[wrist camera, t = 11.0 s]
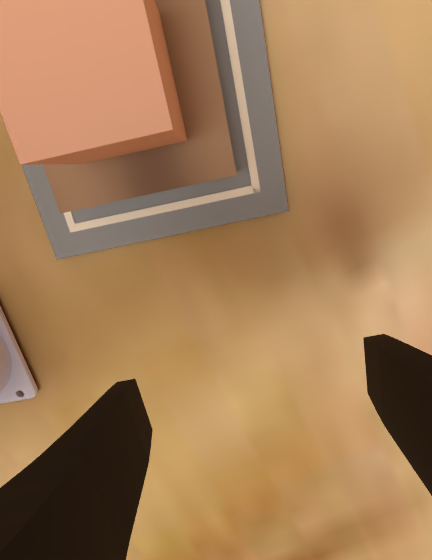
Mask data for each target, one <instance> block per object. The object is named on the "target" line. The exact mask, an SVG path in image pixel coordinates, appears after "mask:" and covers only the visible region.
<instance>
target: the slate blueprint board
mask: <svg viewBox="0 0 432 560" xmlns="http://www.w3.org/2000/svg"><path fill="white" fill-rule="evenodd" d="M205 3H206V8H207V14H208V19H209V25H210V30H211V36H212V41H213V47H214V52H215V58H216V63H217V69H218V74H219V80H220V85H221V91H222V96H223V102H224V107H225V113H226V118H227V124H228V129H229V135H230V140H231V146H232V151H233V157H234V162H235V168H236V173H237V175H235V176H230V177H226V178H221V179H216V180H212V181H207V182H203V183H198V184H194V185H189V186H184V187H180V188H175V189H171V190H166V191H162V192H157V193H152V194H148V195H143V196H139V197H134V198H130V199H125V200H120V201H116V202H111V203H107V204H102V205H98V206H93V207H88V208H84V209H79V210H75V211H70V212H65V213H61V214H60V212H59V209H58V206H57V203H56V201H55V198H54V195H53V192H52V189H51V186H50V184H49V181H48V178H47V175H46V172H45V170H44V167H43V164H32V165H22V168H23V171H24V173H25V176H26V179H27V181H28V184H29V187H30V189H31V192H32V195H33V197H34V200H35V203H36V205H37V208H38V211H39V213H40V216H41V219H42V221H43V224H44V227H45V229H46V232H47V235H48V237H49V240H50V243H51V245H52V248H53V251H54V253H55V256H56V259H62V258H67V257H72V256H77V255H81V254H86V253H91V252H96V251H101V250H105V249H110V248H115V247H120V246H125V245H129V244H134V243H139V242H144V241H148V240H153V239H158V238H163V237H168V236H172V235H177V234H182V233H187V232H192V231H196V230H201V229H206V228H211V227H215V226H220V225H225V224H230V223H235V222H239V221H244V220H249V219H254V218H259V217H263V216H268V215H273V214H278V213H282V212H287V211H289V210H288V203H287V195H286V188H285V181H284V174H283V167H282V159H281V152H280V145H279V138H278V131H277V123H276V116H275V109H274V102H273V95H272V87H271V80H270V73H269V66H268V58H267V51H266V44H265V37H264V30H263V22H262V15H261V8H260V1H259V0H205Z"/></svg>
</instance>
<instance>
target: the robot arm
mask: <svg viewBox="0 0 432 560" xmlns="http://www.w3.org/2000/svg"><path fill="white" fill-rule="evenodd" d="M364 351H365V364H366V377H367V390H368V395H369V397H370V399H371V401H372V403H373V405H374V407H375V409H376V411H377V413H378V415H379V417H380V418H381V420H382V422H383V424H384V426H385V427H386V429H387V430H388V432H389V433H390V435H391V436H392V438H393V439H394V441H395V442H396V444H397V445H398V447H399V448H400V450H401V451H402V452H403V454H404V455H405V457H406V458H407V460H408V461H409V463H410V464H411V466H412V467H413V469H414V470H415V472H416V473H417V475H418V476H419V478H420V479H421V480H422V482H423V483H424V485H425V486H426V488H427V489H428V491H429V492H430V494H431V495H432V355H430V354H427V353H425V352H423V351H421V350H419V349H417V348H415V347H412V346H410V345H408V344H406V343H404V342H402V341H399V340H397V339H395V338H393V337H390V336H388V335H385V334H381V335H376V336H370V337H364ZM20 391H22V392H23V393H21V392H20ZM37 392H38V388H37V386H36V384H35V381H34V379H33V377H32V375H31V373H30V370H29V368H28V366H27V364H26V362H25V359H24V357H23V355H22V353H21V350H20V348H19V346H18V344H17V342H16V339H15V337H14V335H13V333H12V331H11V328H10V326H9V324H8V322H7V320H6V317H5V315H4V313H3V311H2V308H1V306H0V404H3V403H8V402H14V401H19V400H25V399H31V398H33V397H34V396H35V395H36V394H37ZM151 439H152V427H151V424H150V421H149V418H148V415H147V412H146V409H145V406H144V403H143V400H142V397H141V394H140V391H139V388H138V385H137V382H136V380H135V379H132V380H126V381H121V382H117V383H115V384H114V385H113V386H112V387H111V388H110V389H109V390H108V391H107V392H106V393H105V394H104V395H103V396H102V397H101V398H100V399H99V400H98V401H97V402H96V403H95V404H94V405H93V406H92V407H91V408H90V409H89V410H88V411H87V412H86V413H85V414H84V415H83V416H82V417H80V418H79V419H78V420H77V421H76V422H75V423H74V424H73V425H72V426H71V427H70V428H69V429H68V430H67V431H66V432H65V433H64V434H63V435H62V436H61V437H60V438H59V439H57V440H56V441H55V442H54V443H53V444H52V445H51V446H50V447H49V448H48V449H47V450H46V451H44V452H43V453H42V454H41V455H40V456H39V457H38V458H37V459H35V460H34V461H33V462H32V463H31V464H29V465H28V466H27V467H26V468H25V469H23V470H22V471H21V472H20V473H18V474H17V475H16V476H15V477H13V478H12V479H11V480H10V481H8V482H7V483H6V484H5V485H3V486H2V487H1V488H0V560H126V556H127V551H128V546H129V541H130V537H131V533H132V529H133V525H134V521H135V517H136V513H137V508H138V504H139V500H140V496H141V492H142V488H143V484H144V480H145V476H146V472H147V467H148V463H149V456H150V448H151Z"/></svg>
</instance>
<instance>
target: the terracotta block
mask: <svg viewBox="0 0 432 560" xmlns="http://www.w3.org/2000/svg"><path fill="white" fill-rule="evenodd" d="M0 112H1V115H2V117H3V120H4V123H5V125H6V128H7V131H8V133H9V136H10V139H11V141H12V144H13V147H14V149H15V152H16V155H17V157H18V160H19V163H20V165H32V164H87V163H91V162H95V161H100V160H104V159H109V158H113V157H117V156H122V155H126V154H131V153H135V152H140V151H144V150H148V149H153V148H157V147H162V146H166V145H170V144H175V143H179V142H184V141H187V136H186V131H185V127H184V122H183V118H182V113H181V109H180V104H179V99H178V95H177V90H176V86H175V81H174V77H173V72H172V67H171V63H170V58H169V54H168V49H167V45H166V40H165V35H164V31H163V26H162V22H161V17H160V13H159V10H158V8H157V5H156V3H155V0H0Z"/></svg>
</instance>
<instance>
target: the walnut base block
mask: <svg viewBox="0 0 432 560" xmlns="http://www.w3.org/2000/svg"><path fill="white" fill-rule="evenodd" d="M155 3H156V5H157V8H158V10H159V13H160V17H161V22H162V26H163V31H164V35H165V40H166V45H167V49H168V54H169V58H170V63H171V67H172V72H173V77H174V81H175V86H176V90H177V95H178V99H179V104H180V109H181V113H182V118H183V122H184V127H185V131H186V136H187V141H184V142H179V143H175V144H170V145H166V146H162V147H157V148H153V149H148V150H144V151H140V152H135V153H131V154H126V155H122V156H117V157H113V158H109V159H104V160H100V161H95V162H91V163H87V164H43V167H44V170H45V172H46V175H47V178H48V181H49V184H50V186H51V189H52V192H53V195H54V198H55V201H56V203H57V206H58V209H59V212H60V214H61V213H65V212H70V211H75V210H79V209H84V208H88V207H93V206H98V205H102V204H107V203H111V202H116V201H120V200H125V199H130V198H134V197H139V196H143V195H148V194H152V193H157V192H162V191H166V190H171V189H175V188H180V187H184V186H189V185H194V184H198V183H203V182H207V181H212V180H216V179H221V178H226V177H230V176H235V175H237V173H236V168H235V162H234V157H233V151H232V146H231V140H230V135H229V129H228V124H227V118H226V113H225V107H224V102H223V96H222V91H221V85H220V80H219V74H218V69H217V63H216V58H215V52H214V47H213V41H212V36H211V30H210V25H209V19H208V14H207V8H206V3H205V0H155Z"/></svg>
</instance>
